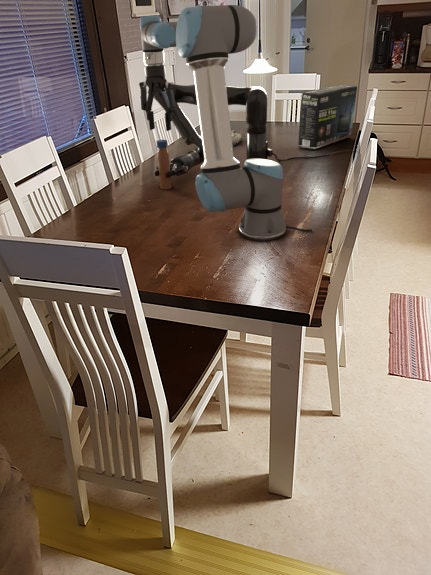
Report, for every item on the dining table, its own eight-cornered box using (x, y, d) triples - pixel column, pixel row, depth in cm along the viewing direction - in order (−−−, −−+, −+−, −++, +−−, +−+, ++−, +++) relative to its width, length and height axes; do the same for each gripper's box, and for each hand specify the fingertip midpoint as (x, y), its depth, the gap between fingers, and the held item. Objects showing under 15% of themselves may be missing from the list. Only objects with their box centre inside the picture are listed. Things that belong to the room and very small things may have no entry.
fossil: (235, 140, 241) (216, 121, 244) (224, 157, 247) (206, 139, 251) (251, 138, 254) (233, 121, 258) (241, 154, 261) (223, 138, 264)
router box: (314, 151, 231) (318, 94, 217) (296, 148, 237) (299, 92, 224) (352, 138, 251) (358, 85, 238) (335, 135, 258) (340, 83, 245)
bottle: (159, 189, 190) (155, 143, 180) (161, 185, 194) (156, 140, 184) (171, 189, 190) (167, 143, 180) (172, 185, 194) (168, 140, 184)
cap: (156, 148, 181) (155, 142, 180) (157, 145, 185) (156, 139, 184) (167, 147, 181) (166, 142, 180) (168, 145, 185) (167, 139, 184)
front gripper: (126, 65, 168) (134, 130, 180) (173, 66, 161) (178, 133, 173) (136, 63, 174) (143, 126, 186) (182, 63, 167) (187, 128, 179)
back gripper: (167, 153, 200) (145, 163, 187) (196, 156, 194) (175, 167, 182) (169, 170, 204) (147, 181, 191) (197, 173, 198) (176, 185, 185)
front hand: (160, 129), depth 180 cm, fingers open, 7 cm apart
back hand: (161, 174), depth 186 cm, fingers closed on bottle, 4 cm apart
